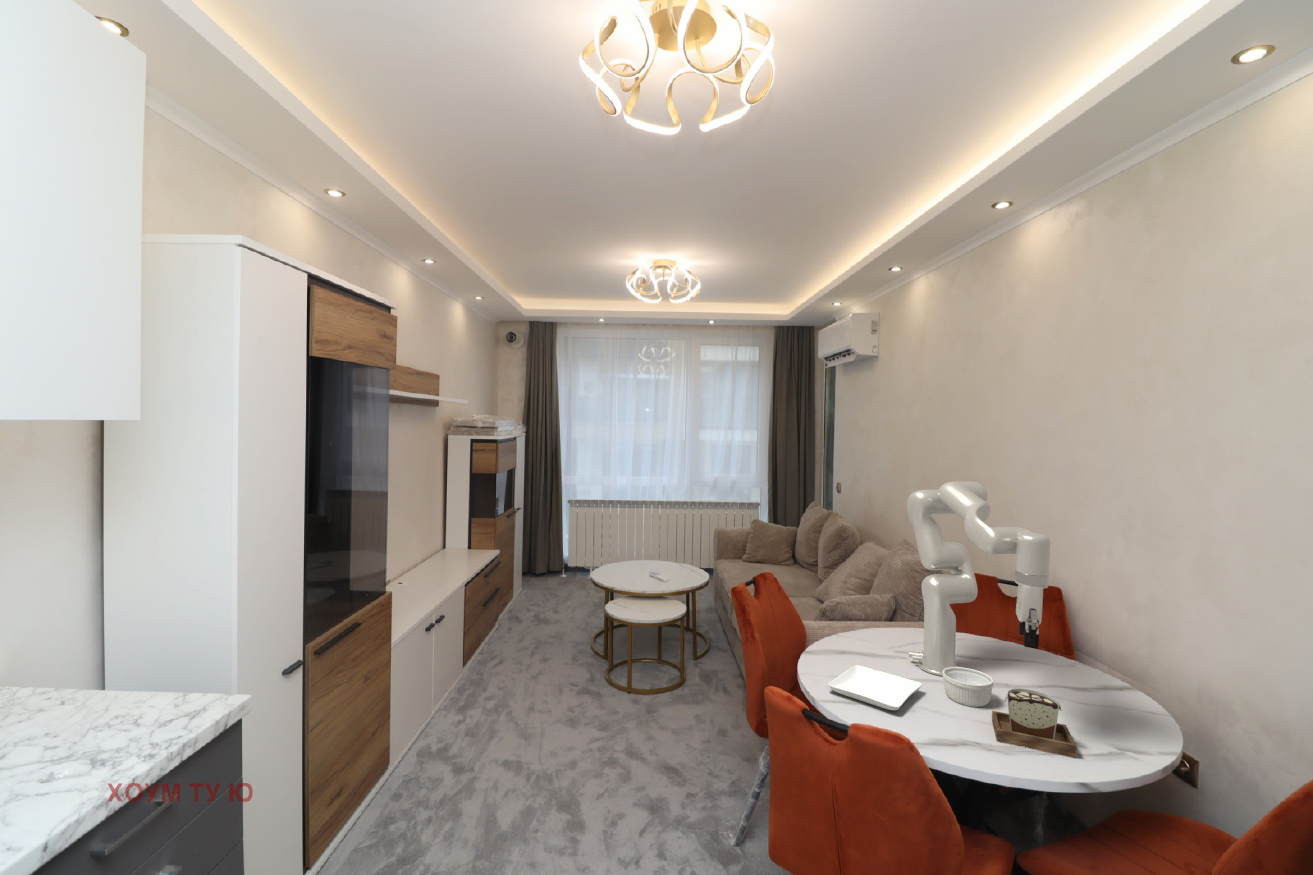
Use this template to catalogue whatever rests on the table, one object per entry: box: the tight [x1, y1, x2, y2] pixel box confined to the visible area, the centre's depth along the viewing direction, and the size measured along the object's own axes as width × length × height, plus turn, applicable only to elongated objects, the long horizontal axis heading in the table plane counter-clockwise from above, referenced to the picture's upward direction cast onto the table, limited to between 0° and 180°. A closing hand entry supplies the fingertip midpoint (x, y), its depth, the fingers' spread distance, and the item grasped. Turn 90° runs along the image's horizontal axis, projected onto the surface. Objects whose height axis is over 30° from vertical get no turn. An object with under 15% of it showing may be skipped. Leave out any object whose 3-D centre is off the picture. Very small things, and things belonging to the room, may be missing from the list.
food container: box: [1004, 688, 1062, 740], centre depth 147 cm, size 12×6×10 cm, turn 68°
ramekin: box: [942, 666, 994, 708], centre depth 168 cm, size 13×13×7 cm
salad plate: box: [827, 664, 923, 711], centre depth 170 cm, size 21×21×3 cm
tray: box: [991, 710, 1077, 759], centre depth 145 cm, size 17×11×3 cm
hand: (1028, 641), depth 153 cm, fingers open, 9 cm apart
